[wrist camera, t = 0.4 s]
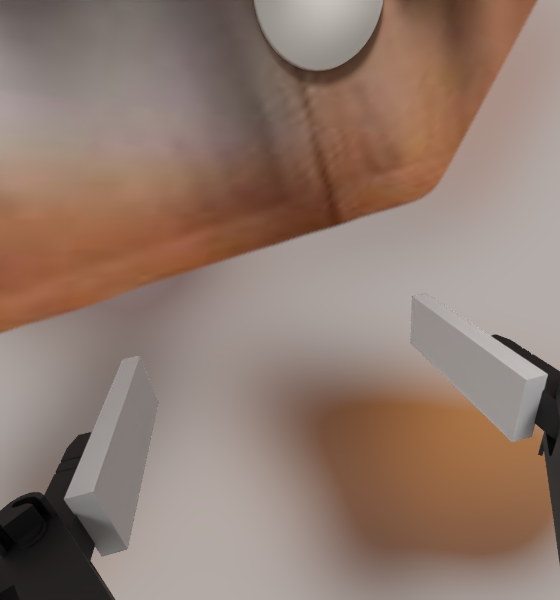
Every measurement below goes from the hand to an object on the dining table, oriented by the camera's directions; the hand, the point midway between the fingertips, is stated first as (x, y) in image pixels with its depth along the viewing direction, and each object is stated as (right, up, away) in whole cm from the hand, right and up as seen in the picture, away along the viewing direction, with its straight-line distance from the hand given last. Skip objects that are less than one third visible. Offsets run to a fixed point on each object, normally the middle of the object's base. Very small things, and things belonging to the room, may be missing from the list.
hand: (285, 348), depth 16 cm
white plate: (+3, +33, +17) cm, 37 cm away
